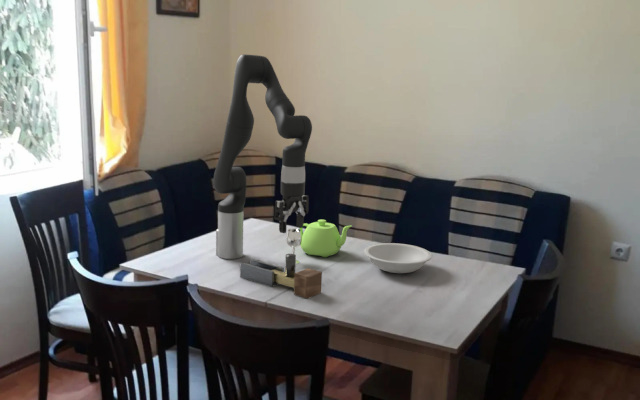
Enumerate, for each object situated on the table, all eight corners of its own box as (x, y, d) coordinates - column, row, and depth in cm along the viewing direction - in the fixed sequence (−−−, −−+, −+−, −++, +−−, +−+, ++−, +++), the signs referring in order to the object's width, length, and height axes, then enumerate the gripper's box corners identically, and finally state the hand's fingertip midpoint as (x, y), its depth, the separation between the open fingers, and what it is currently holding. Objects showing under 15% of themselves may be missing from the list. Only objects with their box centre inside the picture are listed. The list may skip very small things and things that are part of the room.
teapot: (357, 253, 248) (358, 220, 245) (342, 263, 234) (344, 229, 231) (305, 244, 256) (306, 212, 253) (289, 254, 243) (290, 220, 240)
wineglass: (299, 265, 230) (300, 233, 228) (283, 263, 231) (284, 231, 229) (302, 260, 236) (303, 229, 233) (287, 258, 237) (288, 227, 234)
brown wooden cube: (294, 294, 202) (294, 273, 200) (307, 288, 207) (308, 268, 206) (307, 298, 198) (308, 277, 197) (321, 292, 204) (321, 271, 202)
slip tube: (267, 280, 210) (268, 251, 208) (274, 277, 212) (274, 249, 210) (306, 291, 201) (307, 261, 199) (312, 289, 203) (313, 259, 201)
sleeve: (240, 277, 215) (240, 263, 214) (252, 272, 220) (252, 259, 219) (272, 286, 207) (272, 272, 206) (283, 282, 212) (284, 267, 211)
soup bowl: (368, 257, 243) (368, 240, 241) (431, 263, 238) (433, 246, 237) (358, 277, 220) (359, 259, 218) (429, 284, 215) (430, 266, 214)
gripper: (297, 175, 207) (295, 223, 210) (268, 181, 196) (267, 232, 199) (316, 178, 203) (314, 228, 206) (287, 184, 191) (286, 236, 195)
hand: (291, 229), depth 203 cm, fingers open, 8 cm apart
